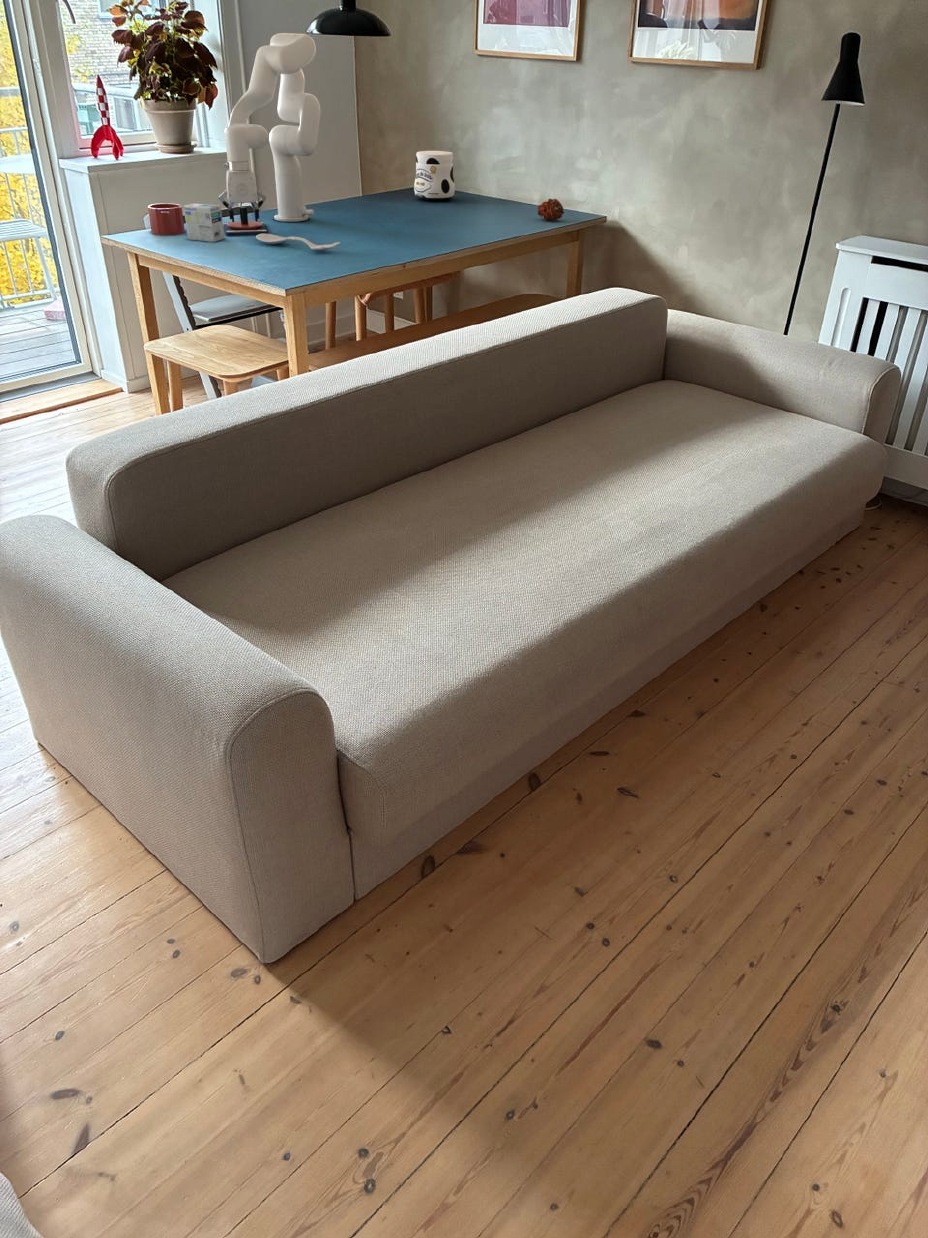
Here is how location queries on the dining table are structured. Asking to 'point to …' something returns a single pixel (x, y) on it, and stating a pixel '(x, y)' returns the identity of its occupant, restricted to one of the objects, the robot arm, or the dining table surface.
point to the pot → (166, 219)
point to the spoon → (277, 240)
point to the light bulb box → (204, 222)
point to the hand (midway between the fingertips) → (244, 220)
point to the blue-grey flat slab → (245, 231)
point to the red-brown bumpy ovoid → (551, 210)
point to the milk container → (434, 175)
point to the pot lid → (244, 221)
